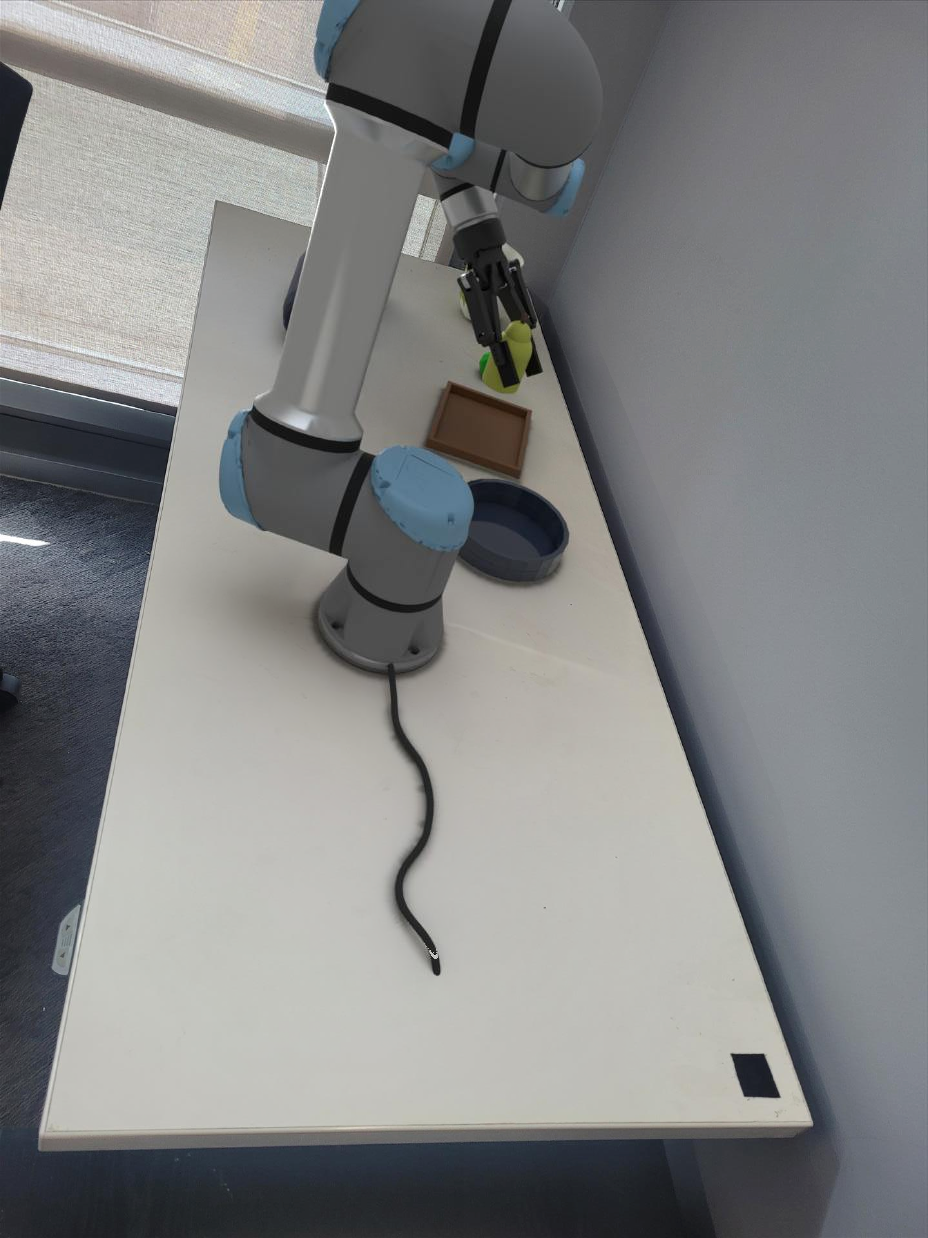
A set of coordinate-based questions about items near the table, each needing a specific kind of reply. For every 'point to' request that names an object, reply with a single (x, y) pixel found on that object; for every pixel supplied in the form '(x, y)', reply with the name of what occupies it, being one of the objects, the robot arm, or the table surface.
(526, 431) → the tray
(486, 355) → the polyhedron
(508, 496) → the bowl
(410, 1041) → the table surface
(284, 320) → the portable speaker
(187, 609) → the table surface
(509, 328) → the pear
